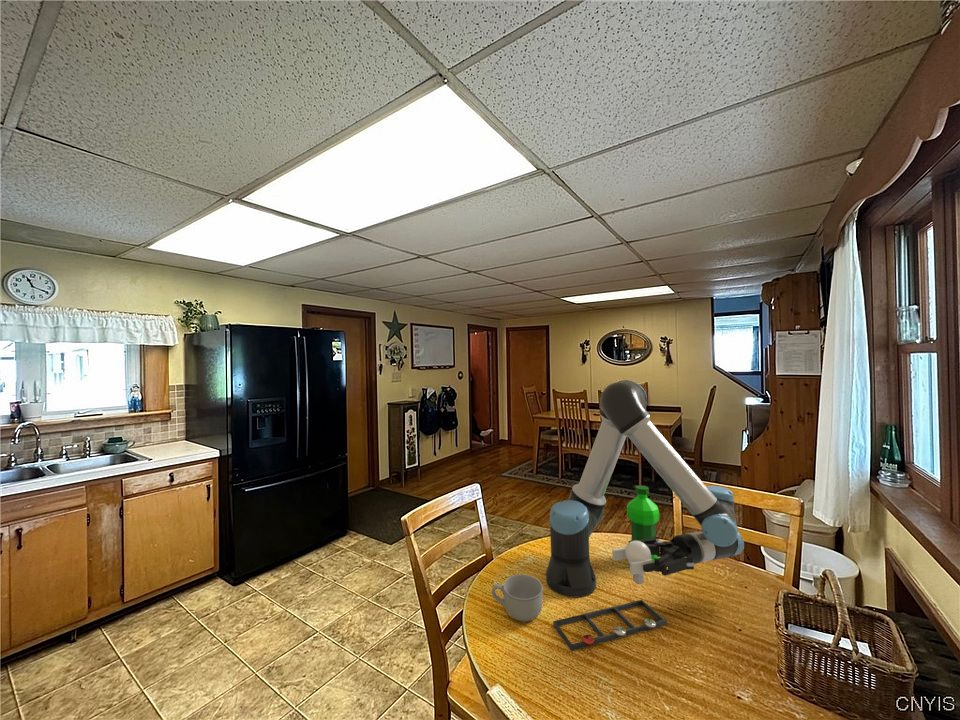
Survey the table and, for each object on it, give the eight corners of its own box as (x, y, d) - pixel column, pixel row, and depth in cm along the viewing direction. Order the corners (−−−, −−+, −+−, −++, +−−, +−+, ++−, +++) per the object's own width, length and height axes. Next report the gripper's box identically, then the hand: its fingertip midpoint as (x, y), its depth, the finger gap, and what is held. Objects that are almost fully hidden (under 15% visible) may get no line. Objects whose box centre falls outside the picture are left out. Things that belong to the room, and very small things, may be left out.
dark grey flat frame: (553, 626, 98) (553, 619, 98) (641, 604, 106) (641, 598, 106) (573, 654, 88) (573, 647, 88) (669, 628, 96) (669, 621, 96)
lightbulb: (646, 577, 103) (646, 536, 103) (655, 591, 96) (654, 548, 97) (622, 576, 103) (622, 535, 103) (629, 590, 97) (629, 547, 97)
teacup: (546, 605, 106) (545, 577, 106) (539, 632, 96) (538, 600, 96) (498, 597, 111) (498, 569, 111) (487, 621, 100) (486, 590, 100)
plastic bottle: (657, 572, 121) (654, 494, 121) (623, 562, 128) (621, 488, 128) (664, 559, 129) (662, 486, 129) (632, 550, 136) (630, 480, 136)
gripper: (723, 580, 96) (648, 598, 89) (665, 545, 114) (600, 557, 108) (723, 551, 96) (648, 566, 89) (665, 520, 114) (599, 531, 108)
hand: (621, 561), depth 99 cm, fingers closed on lightbulb, 6 cm apart
